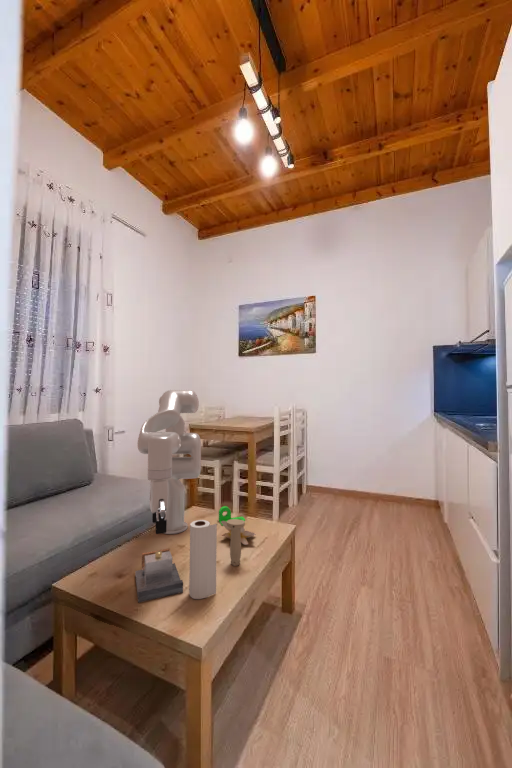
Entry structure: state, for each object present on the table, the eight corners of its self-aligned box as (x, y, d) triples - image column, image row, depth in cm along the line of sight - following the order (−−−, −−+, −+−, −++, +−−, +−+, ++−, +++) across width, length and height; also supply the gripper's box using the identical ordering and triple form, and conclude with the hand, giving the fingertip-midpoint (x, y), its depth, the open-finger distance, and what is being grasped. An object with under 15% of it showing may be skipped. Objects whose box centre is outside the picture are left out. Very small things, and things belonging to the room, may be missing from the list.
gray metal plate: (135, 575, 109) (135, 566, 109) (174, 567, 114) (174, 558, 114) (138, 602, 95) (138, 592, 95) (183, 592, 100) (183, 582, 100)
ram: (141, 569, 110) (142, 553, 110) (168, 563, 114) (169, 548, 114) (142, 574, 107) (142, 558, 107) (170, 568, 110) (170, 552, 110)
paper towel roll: (185, 594, 99) (185, 523, 99) (199, 585, 104) (200, 517, 104) (201, 604, 94) (202, 529, 95) (216, 594, 99) (216, 523, 100)
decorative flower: (263, 540, 136) (263, 516, 136) (249, 551, 126) (249, 525, 126) (232, 532, 143) (233, 510, 144) (217, 543, 133) (218, 518, 134)
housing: (144, 577, 105) (144, 551, 105) (169, 572, 108) (170, 546, 109) (145, 586, 101) (146, 558, 101) (172, 580, 104) (172, 553, 104)
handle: (229, 559, 120) (229, 518, 120) (245, 562, 118) (246, 520, 119) (224, 566, 115) (225, 523, 116) (241, 568, 114) (242, 525, 114)
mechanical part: (221, 528, 148) (221, 511, 148) (218, 524, 154) (218, 506, 154) (246, 525, 152) (246, 507, 153) (242, 520, 158) (242, 503, 158)
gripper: (145, 468, 112) (144, 519, 112) (150, 481, 96) (149, 540, 96) (167, 467, 115) (167, 516, 114) (176, 479, 99) (175, 536, 99)
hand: (159, 527), depth 105 cm, fingers open, 9 cm apart
